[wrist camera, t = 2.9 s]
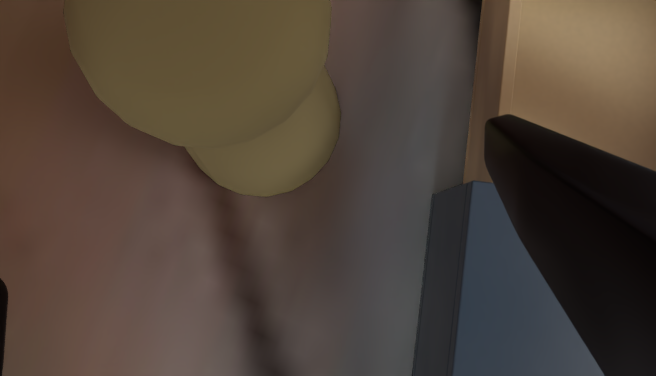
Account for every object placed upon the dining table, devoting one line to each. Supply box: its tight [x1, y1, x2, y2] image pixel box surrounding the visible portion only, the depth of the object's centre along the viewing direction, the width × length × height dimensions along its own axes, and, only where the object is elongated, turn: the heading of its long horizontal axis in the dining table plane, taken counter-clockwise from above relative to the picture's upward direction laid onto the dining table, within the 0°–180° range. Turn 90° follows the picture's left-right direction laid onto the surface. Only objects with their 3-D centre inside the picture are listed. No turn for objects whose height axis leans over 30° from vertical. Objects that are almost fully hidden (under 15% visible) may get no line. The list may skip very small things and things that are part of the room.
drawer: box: [463, 0, 656, 184], centre depth 17 cm, size 16×12×5 cm
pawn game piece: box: [63, 0, 341, 197], centre depth 14 cm, size 6×6×11 cm
